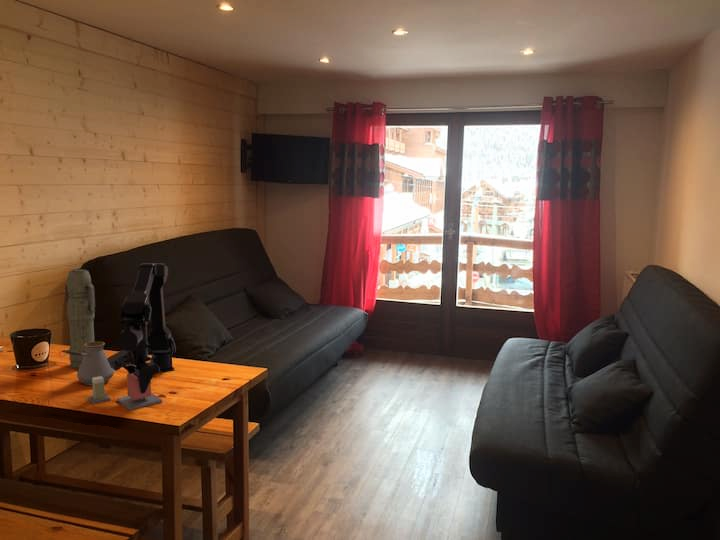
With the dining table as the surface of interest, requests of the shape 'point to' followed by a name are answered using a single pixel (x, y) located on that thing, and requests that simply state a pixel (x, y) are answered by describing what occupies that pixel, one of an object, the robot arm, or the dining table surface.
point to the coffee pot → (93, 363)
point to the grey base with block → (98, 391)
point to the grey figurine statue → (80, 312)
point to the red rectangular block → (136, 388)
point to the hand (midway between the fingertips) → (139, 390)
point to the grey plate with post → (138, 401)
